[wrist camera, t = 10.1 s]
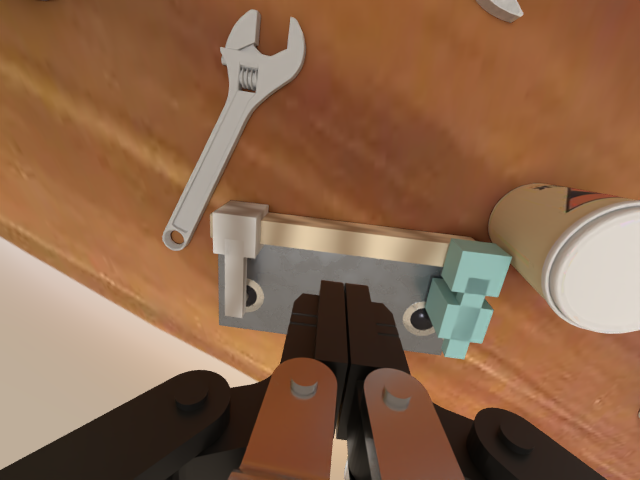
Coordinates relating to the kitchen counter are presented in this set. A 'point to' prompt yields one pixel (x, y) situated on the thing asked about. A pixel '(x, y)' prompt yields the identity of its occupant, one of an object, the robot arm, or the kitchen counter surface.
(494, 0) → the adjustable wrench
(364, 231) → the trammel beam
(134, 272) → the kitchen counter surface
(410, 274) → the bolt plate
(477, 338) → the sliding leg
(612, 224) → the coffee cup
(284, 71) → the adjustable wrench
